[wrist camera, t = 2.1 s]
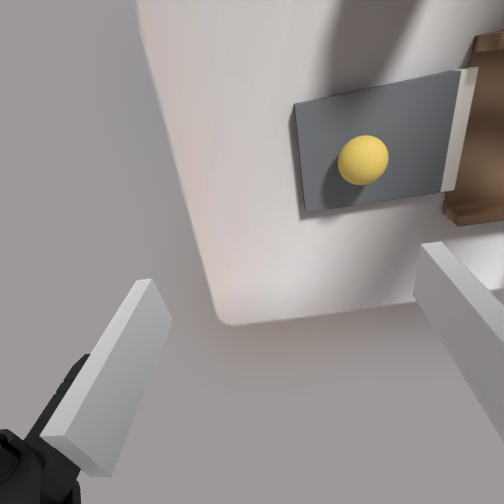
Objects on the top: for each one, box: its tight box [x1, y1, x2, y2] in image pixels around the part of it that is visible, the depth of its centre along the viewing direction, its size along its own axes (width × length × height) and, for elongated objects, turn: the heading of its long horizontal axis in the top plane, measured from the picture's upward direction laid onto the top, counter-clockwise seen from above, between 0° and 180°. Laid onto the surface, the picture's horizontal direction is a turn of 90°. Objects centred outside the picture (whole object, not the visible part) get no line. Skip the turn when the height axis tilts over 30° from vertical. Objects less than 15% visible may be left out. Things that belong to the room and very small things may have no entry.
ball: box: [338, 135, 388, 185], centre depth 24 cm, size 4×4×4 cm
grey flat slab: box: [294, 67, 479, 212], centre depth 26 cm, size 10×14×1 cm
